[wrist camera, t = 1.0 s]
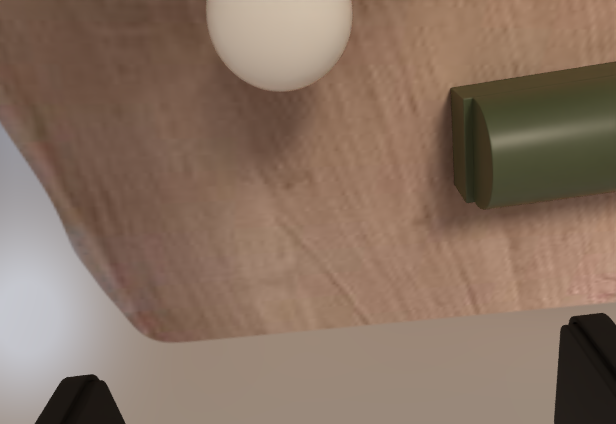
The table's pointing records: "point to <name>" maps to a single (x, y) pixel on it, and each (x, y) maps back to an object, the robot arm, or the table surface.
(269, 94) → the table surface
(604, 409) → the robot arm
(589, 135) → the olive bag
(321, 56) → the lightbulb
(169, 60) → the table surface
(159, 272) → the table surface
